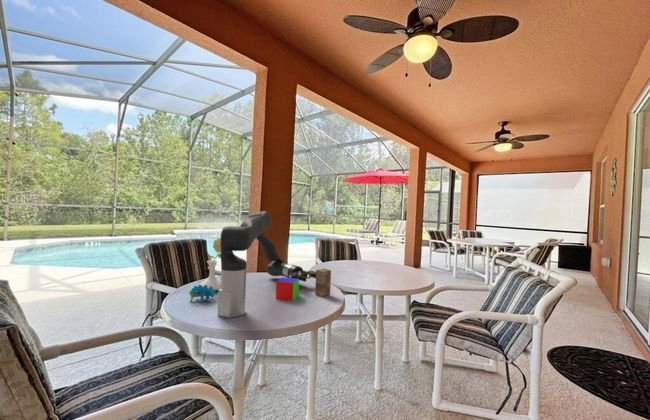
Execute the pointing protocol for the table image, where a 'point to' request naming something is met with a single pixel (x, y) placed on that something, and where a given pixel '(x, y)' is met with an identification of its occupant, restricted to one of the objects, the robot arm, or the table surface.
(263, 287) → the table surface
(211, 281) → the flower in vase
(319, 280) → the pillar
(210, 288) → the blue toy dinosaur
